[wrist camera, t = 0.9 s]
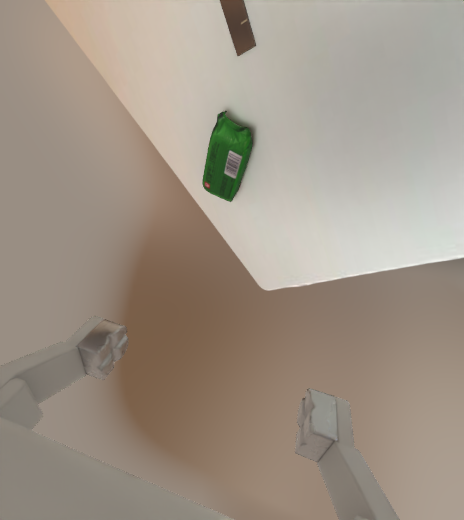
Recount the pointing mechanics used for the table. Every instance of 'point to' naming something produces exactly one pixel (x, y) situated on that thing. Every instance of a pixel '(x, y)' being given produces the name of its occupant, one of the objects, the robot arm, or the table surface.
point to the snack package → (226, 158)
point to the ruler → (238, 25)
